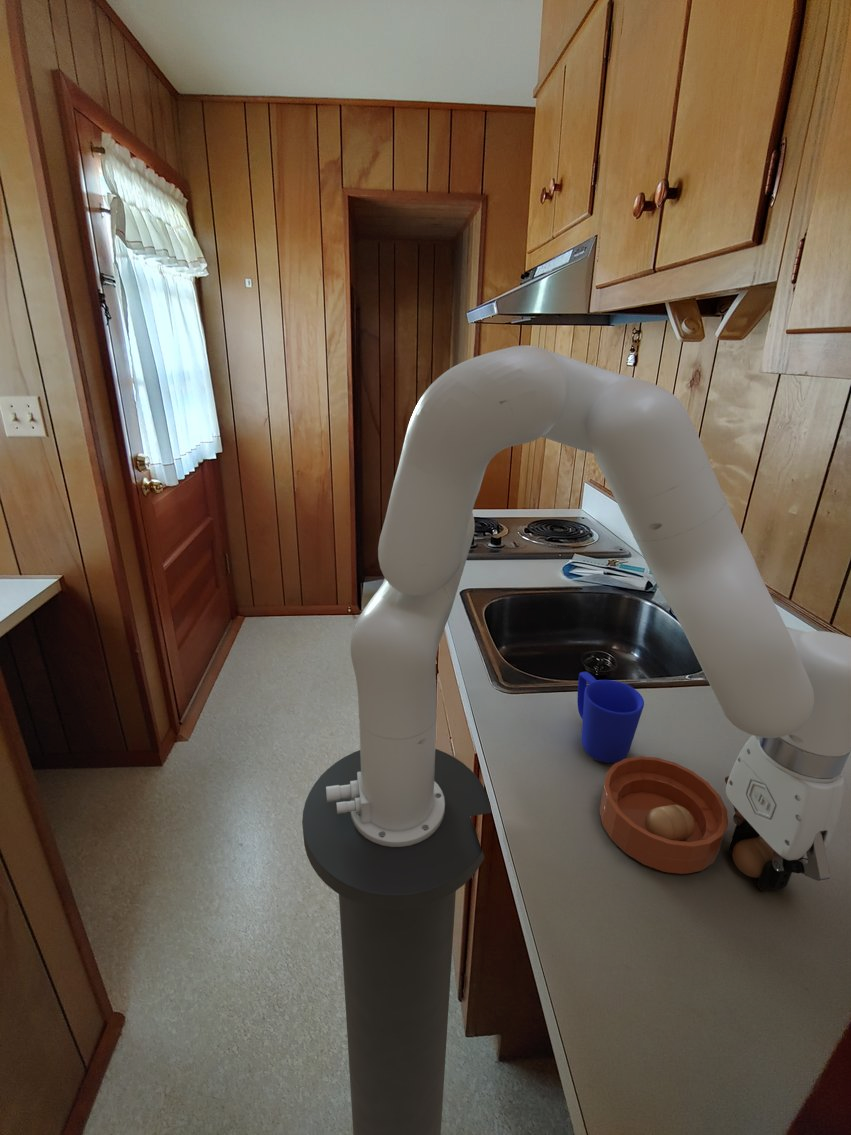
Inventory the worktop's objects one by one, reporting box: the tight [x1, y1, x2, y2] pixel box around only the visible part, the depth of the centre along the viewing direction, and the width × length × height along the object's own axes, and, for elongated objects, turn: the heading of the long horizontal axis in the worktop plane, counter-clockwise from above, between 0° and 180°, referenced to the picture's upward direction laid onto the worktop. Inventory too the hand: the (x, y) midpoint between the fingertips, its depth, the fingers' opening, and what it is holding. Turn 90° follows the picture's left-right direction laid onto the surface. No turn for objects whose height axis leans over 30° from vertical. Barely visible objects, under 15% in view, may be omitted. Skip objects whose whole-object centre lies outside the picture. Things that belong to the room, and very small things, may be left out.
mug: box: [576, 671, 645, 764], centre depth 83 cm, size 8×12×10 cm
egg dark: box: [731, 836, 774, 879], centre depth 64 cm, size 6×4×4 cm, turn 102°
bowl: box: [598, 755, 729, 875], centre depth 69 cm, size 14×14×5 cm
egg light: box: [645, 805, 695, 841], centre depth 68 cm, size 6×4×4 cm, turn 102°
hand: (755, 866), depth 65 cm, fingers closed on egg dark, 4 cm apart
